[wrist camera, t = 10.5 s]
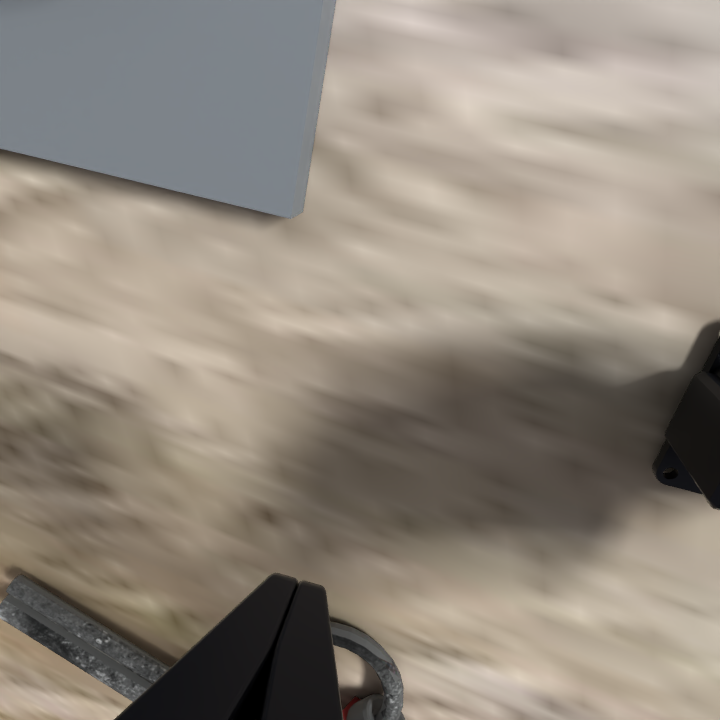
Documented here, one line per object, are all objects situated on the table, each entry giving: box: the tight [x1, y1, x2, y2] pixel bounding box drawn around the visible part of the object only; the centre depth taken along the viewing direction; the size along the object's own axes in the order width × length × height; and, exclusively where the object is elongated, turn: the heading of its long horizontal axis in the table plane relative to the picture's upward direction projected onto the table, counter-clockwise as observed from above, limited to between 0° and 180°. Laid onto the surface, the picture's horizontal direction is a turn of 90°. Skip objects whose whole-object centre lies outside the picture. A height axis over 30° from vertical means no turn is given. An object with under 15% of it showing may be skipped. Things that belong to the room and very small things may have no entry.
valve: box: [0, 574, 405, 720], centre depth 28 cm, size 6×26×15 cm
